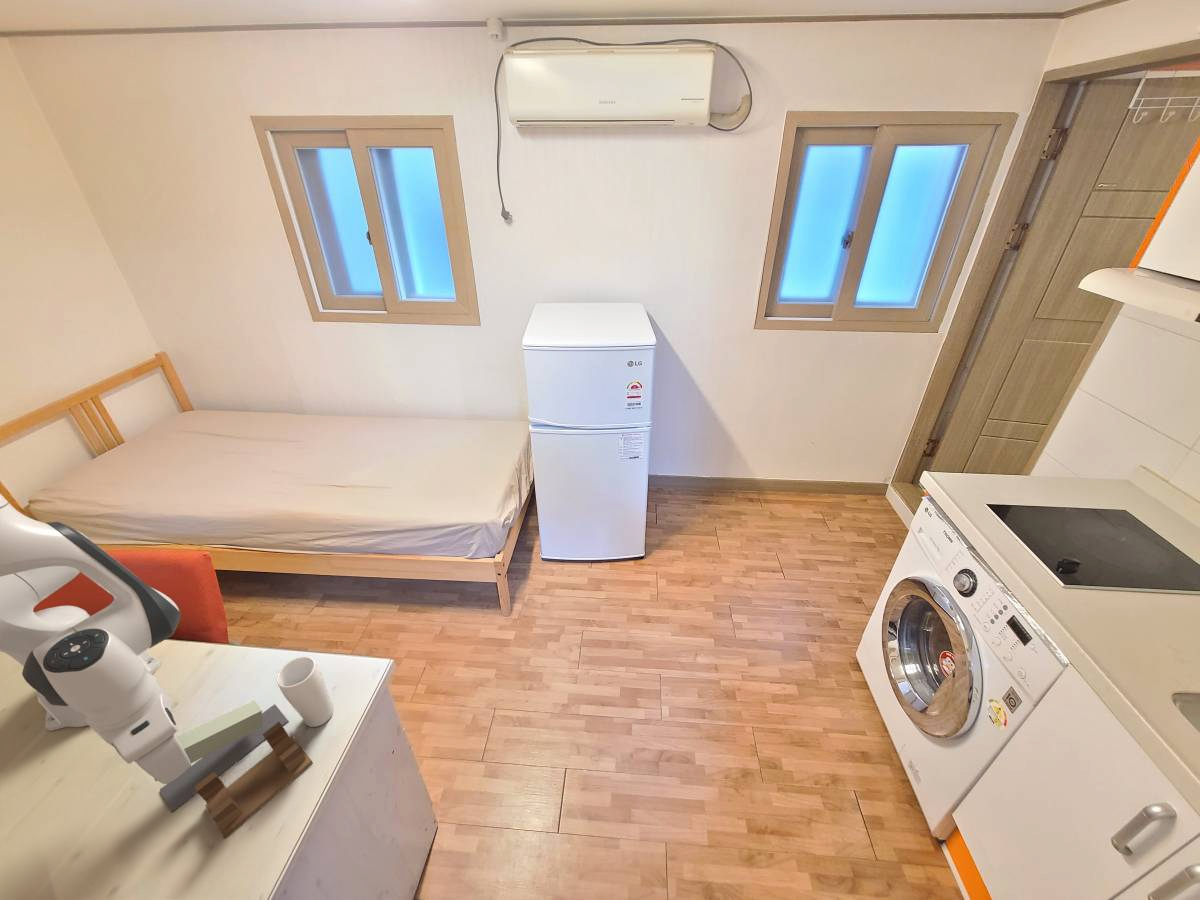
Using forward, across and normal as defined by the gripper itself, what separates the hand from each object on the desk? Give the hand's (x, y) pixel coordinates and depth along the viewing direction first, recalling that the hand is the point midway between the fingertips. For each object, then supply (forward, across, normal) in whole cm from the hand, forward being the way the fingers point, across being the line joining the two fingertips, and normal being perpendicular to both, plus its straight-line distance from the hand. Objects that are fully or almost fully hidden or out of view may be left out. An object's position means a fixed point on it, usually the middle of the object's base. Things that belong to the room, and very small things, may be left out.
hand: (173, 754), depth 86 cm
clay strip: (+4, 0, +4) cm, 5 cm away
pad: (+9, 0, +5) cm, 11 cm away
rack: (+9, +11, +7) cm, 16 cm away
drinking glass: (+9, +7, +20) cm, 23 cm away
